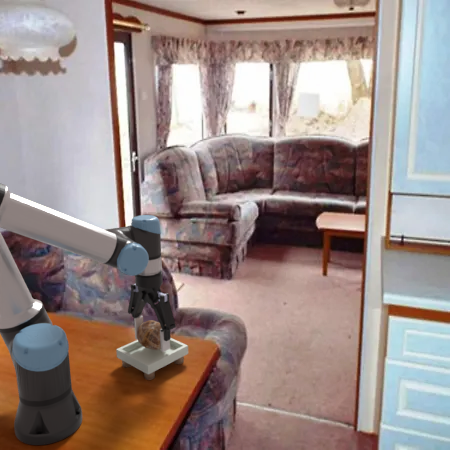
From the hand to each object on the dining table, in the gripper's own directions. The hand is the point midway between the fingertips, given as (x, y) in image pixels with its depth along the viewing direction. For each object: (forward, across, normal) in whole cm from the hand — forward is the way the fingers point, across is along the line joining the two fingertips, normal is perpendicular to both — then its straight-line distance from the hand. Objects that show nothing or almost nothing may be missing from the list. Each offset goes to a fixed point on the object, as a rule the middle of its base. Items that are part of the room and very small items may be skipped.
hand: (152, 343), depth 144 cm
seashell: (+1, 0, -1) cm, 1 cm away
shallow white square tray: (+6, 0, 0) cm, 6 cm away
